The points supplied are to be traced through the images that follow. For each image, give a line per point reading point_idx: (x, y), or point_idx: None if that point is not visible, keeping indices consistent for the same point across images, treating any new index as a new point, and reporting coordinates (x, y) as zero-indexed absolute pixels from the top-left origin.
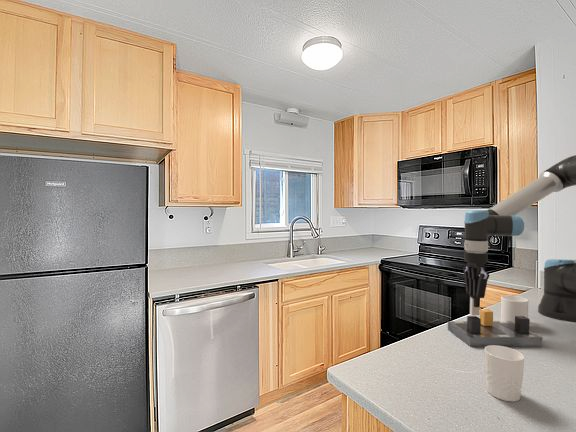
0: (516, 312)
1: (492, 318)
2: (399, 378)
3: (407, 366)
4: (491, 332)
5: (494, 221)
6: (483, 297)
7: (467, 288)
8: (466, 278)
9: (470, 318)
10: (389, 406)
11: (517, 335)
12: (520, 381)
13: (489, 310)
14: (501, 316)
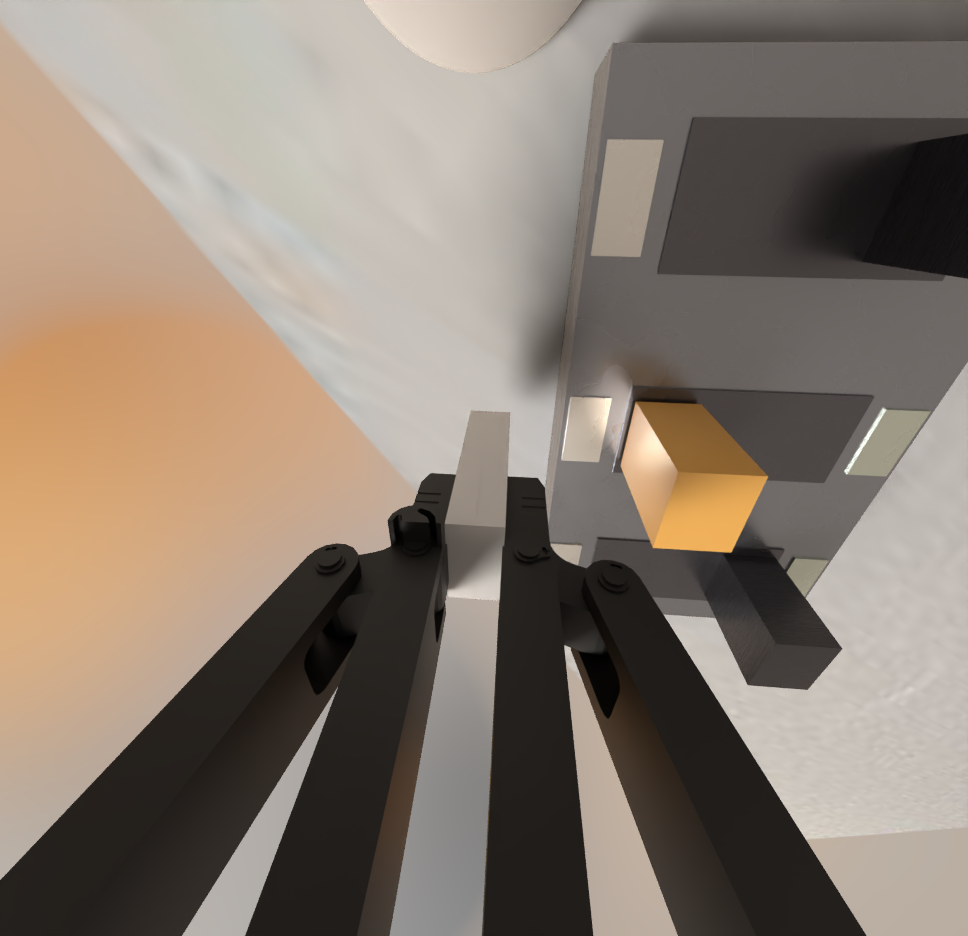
0: None
1: (730, 441)
2: (837, 791)
3: (793, 767)
4: (788, 483)
5: None
6: (631, 579)
7: (338, 678)
8: (194, 911)
9: (789, 685)
10: (920, 825)
11: (947, 322)
12: None
13: (718, 487)
14: (423, 45)
